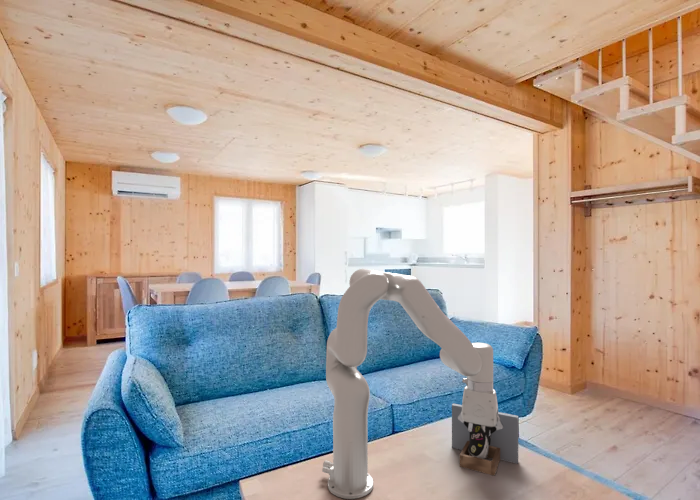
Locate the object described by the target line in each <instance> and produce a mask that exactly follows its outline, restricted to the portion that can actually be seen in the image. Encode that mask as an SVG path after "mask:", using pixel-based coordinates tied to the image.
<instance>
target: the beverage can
mask: <svg viewBox="0 0 700 500" xmlns="http://www.w3.org/2000/svg"><path fill="white" fill-rule="evenodd" d="M491 428H492V427H487V426H483V425H479V424H473V426H472V436H470V442H469V448H468V451H469V453H470V454H469V455H470V456H473V457H477V458H481V459H488V458H487V456H488V451H489V439H490V438H491V435H490V433H489V432H490V431H491ZM489 435H490V436H489ZM486 447H487V448H486Z"/></svg>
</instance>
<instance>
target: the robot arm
mask: <svg viewBox="0 0 700 500" xmlns="http://www.w3.org/2000/svg"><path fill="white" fill-rule="evenodd" d="M348 284H349V287H348V288H347V290H345V292H344V293H343V295H342V296H341V299H340V301H339V304H338V308H337V318H336V327H335V328H334V329H332V330H331V332H330V333H329V336H328V338H327V340H326V352H325V353H326V359H325V379H326V385H327V387H328V388H329V389H328V390H329V391H330V392H331V394H332V395H333V398H334V399H333V400H334V403H333V405H334V406H333V413H332V441H333V442H332V448H333V449H332V450H333V451H332V454H333V455H332V458H333V459H332V462H331V461H329V460H326V459H325V460H324V461H323V464H322V469H321V471H322V473H325V474H328V475H329V477H328V479H327V489H328V491H329V492H330V493H331V494H332V495H334V496H335V497H338V498H341V499H347V500H354V499H360V498H363V497H365V496H367V495H368V494H370V493H371V491H372V490H373V489H374V480H373V477H372V476H371V475H370V473H368V471H369V469H368V468H369V467H368V463H369V462H368V454H369V453H368V448H369V447H368V445H369V444H368V443H369V442H368V440H369V439H368V438H369V437H368V434H369V433H368V414H369V413H368V412H369V404H370V403H369V402H370V398H371V397H370V395H371V394H370V393H371V392H370V387H369V384H368V382H367V380H366V377H364V375H362V373H361V372H360V371H359V370H358V367H359V366H360V365H362V364H363V363H364V361H365V360H366V358H367V355H368V354H367V353H368V324H369V323H368V321H369V315H370V313H371V312H370V311H371V309H372V308H373V307H374V305H375V304H376V303H377V302H378V301H379V300H384V301H385V300H386V301H394V302H396V303H399V304H400V305H401V307H402V308H403V310H404V311H405V313H406V314H407V315H408V316H409V317H410V319H411V320H412V321H413V323H414V324H415V326H416V327H417V328H418V330H420V332H421V334H423V335H424V336H426V337H427V338H428V339H430V340H431V341H432V342H434V343H435V344H436V345H438V346H439V347H440V348H441V349H440V350H439V358H440V360H441V363H442V364H443V365H444V366H446V367H447V368H449V369H451V370H453V371H454V372H457V373H458V374H460V375H462V376H464V377H463V378H462V382H461V383H464V384H465V387H464V389H463V392H462V393H463V395H462V404H461V405H462V412H461V413H460V415H459V416H458V420H460V421H461V422H462V423H464V425H465V426H466V427H467V428H468V431H470V436H472V426H473V424H479V425H483V426H487V427H492V428H491V431H490V432H489V433H490V435H491V434H492V433H493V432H495V431H496V430H499V429H502V428H503V426H504V425H503V423H502V421H501V420H500V418H499V416H498V412H499V405H498V397H497V392H496V390H495V389H494V348H493V346H492V345H490V344H489V343H486V342H471V341H470V339H469V338H468V337H467V335H466V334H465V333H464V332H462V330H461V329H460V328H459V327H458V326H457V325H456V324H455V323H454V322H453V321H452V320H451V319H450V318H449V317H448V316H447V315H446V314H445V313H444V312H443V310H442V309H441V308H440V306H439V305H438V304H437V302H436V301H435V300H434V298H433V296H431V294H430V293H429V291H428V290H427V288H426V286H424V284H423V283H422V282H421V280H419V279H418V278H417V277H415V276H413V275H407V274H401V273H395V272H393V273H392V272H385V271H380V270H376V269H368V268H359V269H357V270H355V271H354V272H353V273H352V274H351V275H350V277H349V283H348ZM465 377H466V378H465ZM490 435H489V436H490ZM490 444H491V438H490V439H489V445H490ZM486 448H487V447H486Z"/></svg>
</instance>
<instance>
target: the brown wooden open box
mask: <svg viewBox="0 0 700 500" xmlns="http://www.w3.org/2000/svg"><path fill="white" fill-rule="evenodd" d="M469 442H470V441H467V442H466V444H465V446H464V448H463V450H461V452H460V454H459V467H460V468H464V469H468V470H471V471H476V472H478V473H482V474H486V475H489V476H492V477H493V476H494V477H495V476H496V473H497V471H498V469H499V468H498V467H499V464H500V461H501V460H500V448H497V447H493V446H489V451H488V456H487V458H484V459H481V458H477V457H473V456H472V455H471V454H470V453H469V451H468V448H469ZM488 459H489V460H488ZM490 459H491V460H490Z"/></svg>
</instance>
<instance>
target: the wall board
mask: <svg viewBox="0 0 700 500" xmlns="http://www.w3.org/2000/svg"><path fill="white" fill-rule="evenodd" d="M461 412H462V404H460V403H459V404H458V403H452V404H451V448H452V449H456V450H460V451H462V450H463V448H464V446H465V444H466V442H467V441H470V431H468V428H467V427H466V426H465V425H464V423H462V422H461V421H460V420H458V416H459V415H460V413H461ZM498 416H499V418H500V420H501V421H502V423H503V425H504V426H503V428H502V429H499V430H496V431H495V432H493V433H492V434H491V444H490V445H489V446H493V447H497V448H500V461H505V462H508V463H512V462H513V463H512V464H516V465H517V464H519V415H515V414H511V413H510V414H509V413H507V412H505V413H504V412H501V411H500V412H499V411H498Z"/></svg>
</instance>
